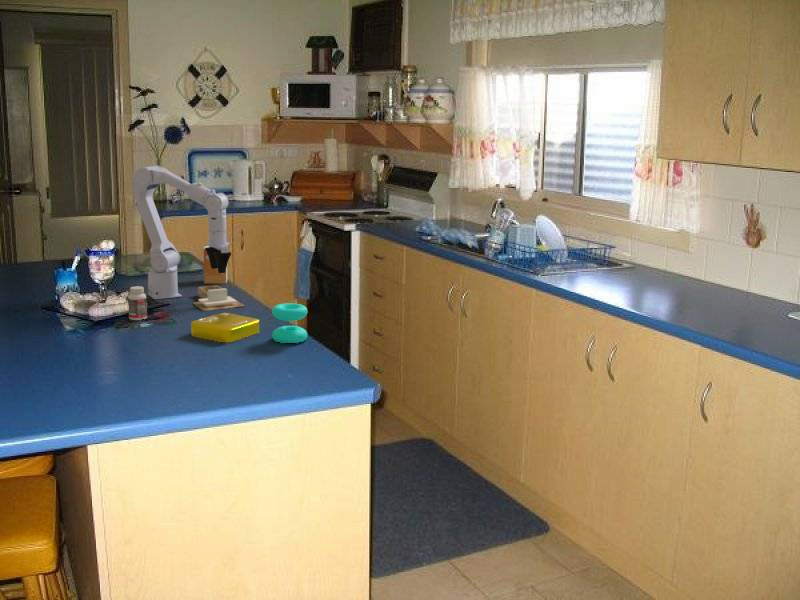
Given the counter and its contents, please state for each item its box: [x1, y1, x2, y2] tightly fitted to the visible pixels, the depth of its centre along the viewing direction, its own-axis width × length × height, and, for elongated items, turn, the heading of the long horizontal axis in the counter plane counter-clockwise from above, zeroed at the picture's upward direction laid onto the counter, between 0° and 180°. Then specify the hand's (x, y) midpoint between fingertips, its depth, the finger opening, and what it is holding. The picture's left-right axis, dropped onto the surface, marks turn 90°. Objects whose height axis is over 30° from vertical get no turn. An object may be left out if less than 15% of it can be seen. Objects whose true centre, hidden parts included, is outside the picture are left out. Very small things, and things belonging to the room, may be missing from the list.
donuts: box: [271, 302, 308, 344], centre depth 240 cm, size 10×10×10 cm
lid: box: [197, 287, 238, 307], centre depth 277 cm, size 8×11×5 cm
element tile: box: [190, 311, 260, 344], centre depth 245 cm, size 15×15×5 cm
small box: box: [203, 245, 228, 285], centre depth 309 cm, size 8×6×13 cm
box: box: [197, 284, 229, 299], centre depth 287 cm, size 7×10×3 cm
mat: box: [192, 299, 246, 312], centre depth 277 cm, size 14×11×1 cm
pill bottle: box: [127, 285, 148, 321], centre depth 258 cm, size 5×5×10 cm
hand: (218, 270), depth 281 cm, fingers open, 7 cm apart
